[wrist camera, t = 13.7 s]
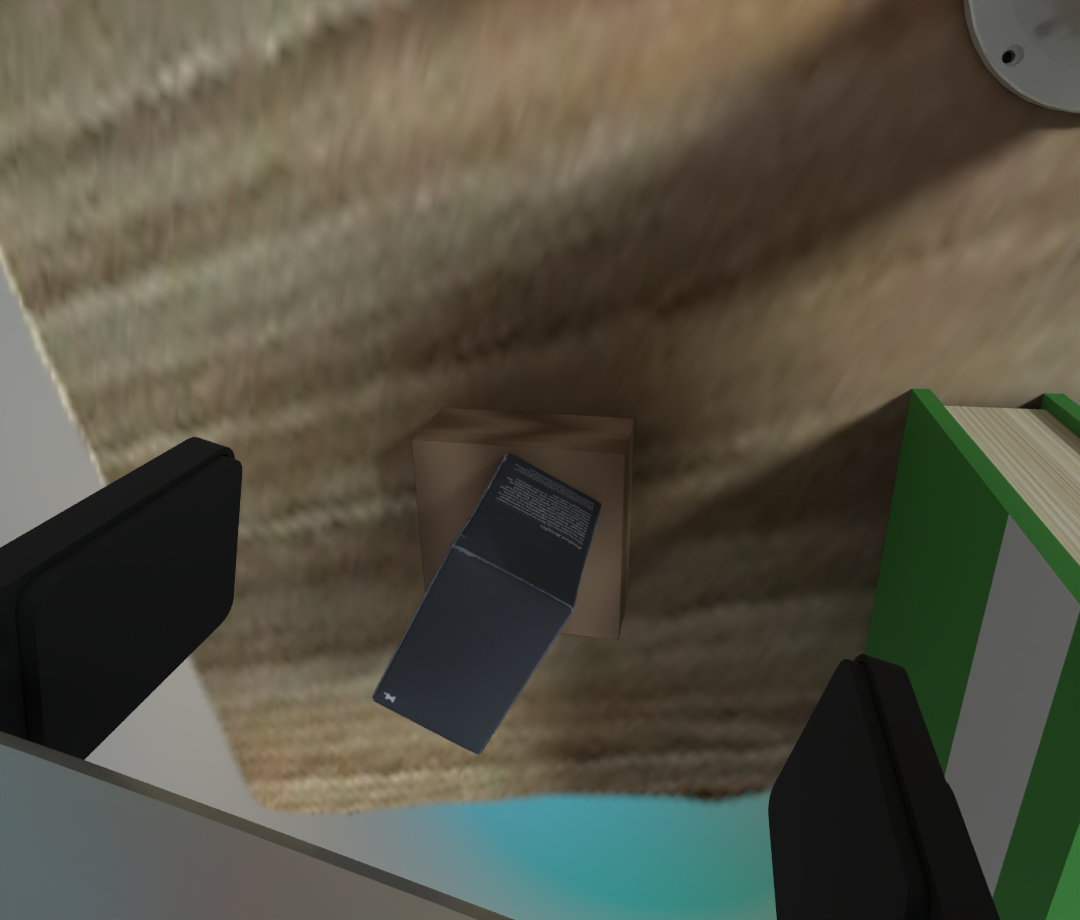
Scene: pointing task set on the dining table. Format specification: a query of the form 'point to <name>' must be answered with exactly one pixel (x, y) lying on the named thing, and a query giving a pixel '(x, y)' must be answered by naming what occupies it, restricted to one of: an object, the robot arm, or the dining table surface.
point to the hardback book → (994, 631)
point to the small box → (492, 606)
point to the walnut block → (559, 450)
